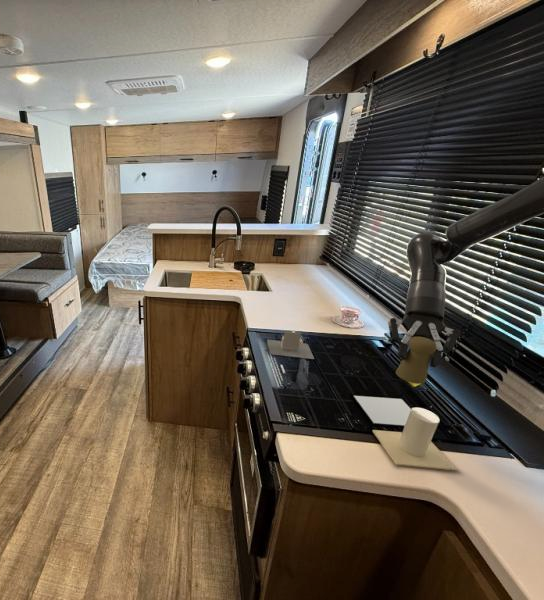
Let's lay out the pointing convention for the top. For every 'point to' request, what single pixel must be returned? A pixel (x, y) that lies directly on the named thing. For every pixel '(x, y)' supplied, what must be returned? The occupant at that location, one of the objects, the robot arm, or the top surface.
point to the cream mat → (401, 457)
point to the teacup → (349, 317)
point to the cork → (417, 360)
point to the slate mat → (384, 410)
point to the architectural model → (290, 346)
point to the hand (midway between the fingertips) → (418, 362)
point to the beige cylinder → (418, 431)
